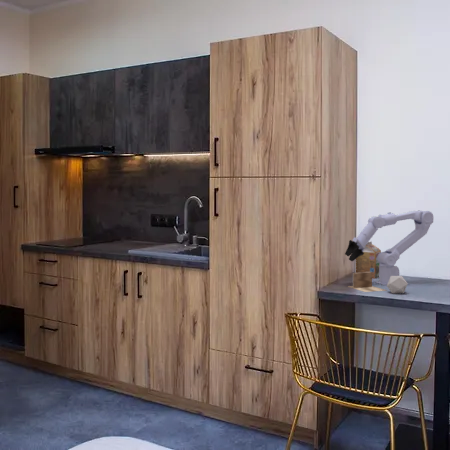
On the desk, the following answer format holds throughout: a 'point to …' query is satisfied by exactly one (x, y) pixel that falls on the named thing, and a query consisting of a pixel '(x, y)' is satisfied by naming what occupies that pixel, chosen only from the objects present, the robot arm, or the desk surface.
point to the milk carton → (369, 260)
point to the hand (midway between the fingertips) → (348, 257)
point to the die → (397, 284)
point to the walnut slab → (362, 279)
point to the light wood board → (368, 289)
